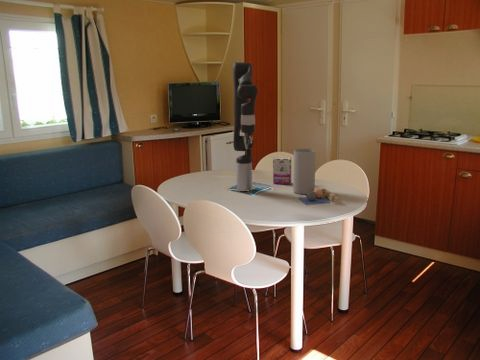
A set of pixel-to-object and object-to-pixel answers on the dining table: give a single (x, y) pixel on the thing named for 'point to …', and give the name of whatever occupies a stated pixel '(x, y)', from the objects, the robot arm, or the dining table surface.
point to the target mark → (316, 201)
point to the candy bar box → (282, 171)
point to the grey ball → (311, 196)
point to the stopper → (330, 196)
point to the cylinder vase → (304, 171)
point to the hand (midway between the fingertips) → (248, 155)
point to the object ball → (318, 193)
